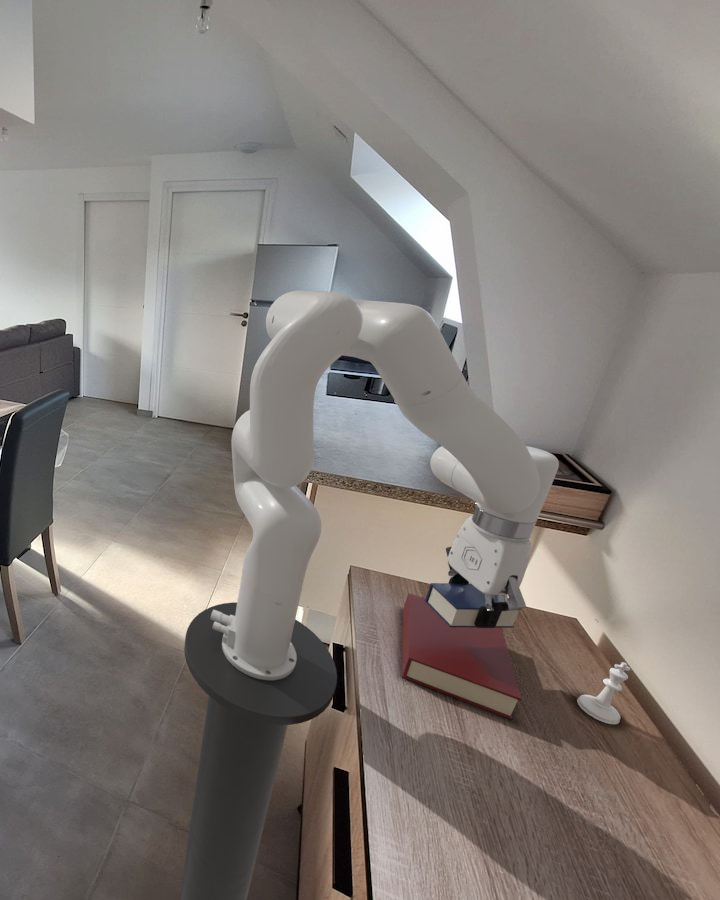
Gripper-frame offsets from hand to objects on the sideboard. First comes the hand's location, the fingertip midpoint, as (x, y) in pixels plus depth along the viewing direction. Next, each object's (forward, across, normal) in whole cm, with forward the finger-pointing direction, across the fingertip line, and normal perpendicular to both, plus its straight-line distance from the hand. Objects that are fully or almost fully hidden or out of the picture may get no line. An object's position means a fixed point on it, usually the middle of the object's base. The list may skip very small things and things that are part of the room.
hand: (468, 610), depth 79 cm
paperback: (+1, 0, 0) cm, 1 cm away
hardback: (+11, 0, 0) cm, 11 cm away
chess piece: (+11, +11, +17) cm, 23 cm away
